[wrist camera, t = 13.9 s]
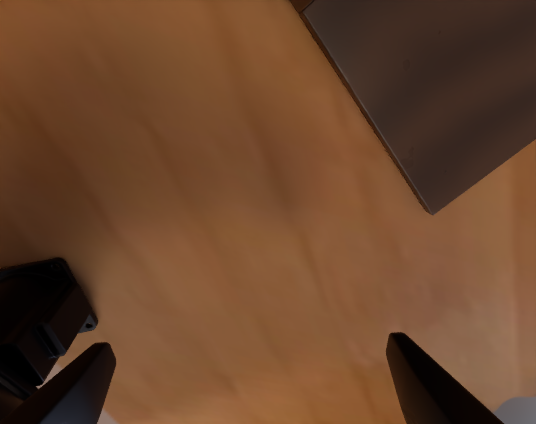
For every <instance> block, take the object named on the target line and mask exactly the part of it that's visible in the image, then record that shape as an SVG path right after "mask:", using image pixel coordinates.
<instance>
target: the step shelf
mask: <svg viewBox="0 0 536 424" xmlns="http://www.w3.org/2000/svg"><path fill="white" fill-rule="evenodd" d="M290 1H291V3H292V5H293V6H294V8H295V9H296V11H297V12H298V13H300V14H299V15H300V17H301V18H302V20H303V22H304V23H305V25H306V26H307V28H308V29H309V31H310V32H311V34H312V35H313V37H314V39H315V40H316V42H317V43H318V45H319V46H320V48H321V49H322V51H323V52H324V54H325V56H326V57H327V59H328V60H329V62H330V63H331V65H332V66H333V68H334V69H335V71H336V73H337V74H338V76H339V77H340V79H341V80H342V82H343V83H344V85H345V86H346V88H347V90H348V91H349V93H350V94H351V96H352V97H353V99H354V100H355V102H356V103H357V105H358V107H359V108H360V110H361V111H362V113H363V114H364V116H365V117H366V119H367V121H368V122H369V124H370V125H371V127H372V128H373V130H374V131H375V133H376V134H377V136H378V138H379V139H380V141H381V142H382V144H383V145H384V147H385V148H386V150H387V151H388V153H389V155H390V156H391V158H392V159H393V161H394V162H395V164H396V165H397V167H398V168H399V170H400V172H401V173H402V175H403V176H404V178H405V179H406V181H407V182H408V184H409V185H410V187H411V189H412V190H413V192H414V193H415V195H416V196H417V198H418V199H419V201H420V202H421V204H422V206H423V207H424V209H425V210H426V212H428V213H429V214H431V215H434V214H435V213H437V212H438V211H439V210H441V209H442V208H443V207H445V206H446V205H447V204H449V203H450V202H452V201H453V200H454V199H456V198H457V197H458V196H460V195H461V194H462V193H464V192H465V191H466V190H468V189H469V188H470V187H472V186H473V185H474V184H476V183H477V182H478V181H480V180H481V179H483V178H484V177H485V176H487V175H488V174H489V173H491V172H492V171H493V170H495V169H496V168H497V167H499V166H500V165H501V164H503V163H504V162H505V161H507V160H508V159H509V158H511V157H512V156H514V155H515V154H516V153H518V152H519V151H520V150H522V149H523V148H524V147H526V146H527V145H528V144H530V143H531V142H532V141H534V140H535V139H536V0H290Z"/></svg>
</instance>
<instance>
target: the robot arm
mask: <svg viewBox="0 0 536 424" xmlns="http://www.w3.org/2000/svg"><path fill="white" fill-rule="evenodd" d="M55 264H58V265H59V266H60V267H58V266H56V265H55ZM89 323H90V324H89ZM97 324H98V320H97V319H96V317H95V315H94V313H93V311H92V308H91V306H90V304H89V302H88V300H87V299H86V297H85V295H84V293H83V291H82V289H81V287H80V285H79V284H78V283H77V281H76V279H75V278H74V276H73V274H72V272H71V270H70V268H69V266H68V264H67V263H66V261H65V260H64V259H62V258H52V259H47V260H42V261H37V262H32V263H27V264H22V265H17V266H12V267H7V268H2V269H0V424H97V422H98V419H99V417H100V414H101V411H102V408H103V405H104V402H105V398H106V395H107V392H108V389H109V386H110V383H111V379H112V376H113V373H114V370H115V367H116V358H115V355H114V353H113V351H112V348H111V346H110V344H109V343H107V342H100V343H94V344H93V345H91V346H90V347H89V348H88V349H87V350H85V351H84V352H83V353H82V354H81V355H79V356H78V357H77V358H76V359H75V360H73V361H72V362H71V363H70V364H68V365H67V366H66V367H65V368H64V369H62V370H61V371H60V372H59V373H58V374H56V375H55V376H54V377H53V378H52V379H51V380H49V381H48V382H47V383H46V384H45V385H43V386H42V387H41V388H40V389H38V388H37V387H35V386H40V385H42V384H43V382H44V381H45V379H46V378H47V376H48V374H49V373H50V371H51V370H52V368H53V366H54V365H55V363H56V362H57V360H58V358H59V357H60V356H64V355H65V354H66V352H67V350H68V349H69V347H70V345H71V344H72V342H73V340H74V339H75V337H76V336H77V334H78V333H83V332H87V331H92V330H94V329H95V328H96V326H97ZM386 356H387V360H388V364H389V367H390V371H391V374H392V378H393V382H394V385H395V389H396V392H397V396H398V399H399V403H400V406H401V409H402V412H403V415H404V418H405V420H406V423H407V424H504V423H503V422H502V421H501V420H499V419H498V418H497V417H496V416H495V415H494V414H493V413H492V412H491V411H490V410H488V409H487V408H486V407H485V406H484V405H483V404H482V403H481V402H480V401H479V400H477V399H476V398H475V397H474V396H473V395H472V394H471V393H470V392H469V391H468V390H466V389H465V388H464V387H463V386H462V385H461V384H460V383H459V382H458V381H457V380H455V379H454V378H453V377H452V376H451V375H450V374H449V373H448V372H447V371H446V370H444V369H443V368H442V367H441V366H440V365H439V364H438V363H437V362H436V361H435V360H433V359H432V358H431V357H430V356H429V355H428V354H427V353H426V352H425V351H424V350H422V349H421V348H420V347H419V346H418V345H417V344H416V343H415V342H414V341H413V340H411V339H410V338H409V337H408V336H407V335H406V334H404V333H402V332H396V333H390V334H389V338H388V343H387V348H386Z"/></svg>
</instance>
